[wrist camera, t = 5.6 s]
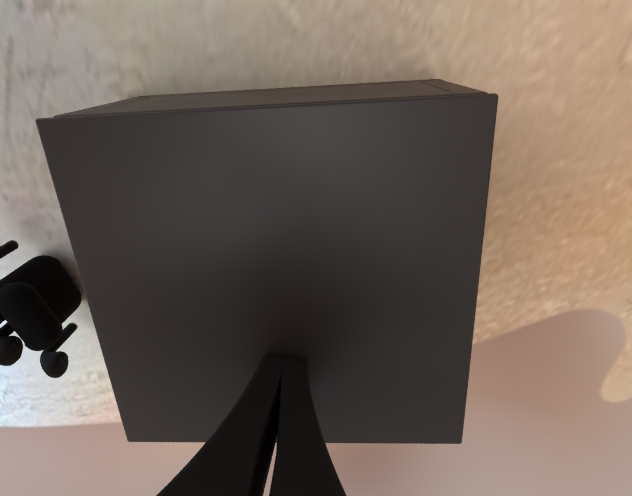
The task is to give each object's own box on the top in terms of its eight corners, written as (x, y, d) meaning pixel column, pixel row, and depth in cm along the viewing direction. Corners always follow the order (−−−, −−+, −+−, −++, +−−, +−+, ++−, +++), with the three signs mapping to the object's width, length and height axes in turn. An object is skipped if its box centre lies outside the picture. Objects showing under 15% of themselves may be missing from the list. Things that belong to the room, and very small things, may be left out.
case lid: (456, 430, 13) (462, 444, 13) (135, 429, 14) (127, 442, 14) (490, 94, 10) (499, 93, 9) (49, 117, 10) (33, 118, 10)
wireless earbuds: (6, 219, 18) (-104, 274, 13) (51, 205, 17) (-47, 257, 13) (88, 333, 21) (21, 410, 16) (128, 323, 20) (70, 400, 16)
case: (421, 302, 19) (449, 385, 14) (191, 306, 20) (146, 386, 15) (439, 78, 14) (489, 92, 10) (139, 96, 15) (50, 116, 10)
